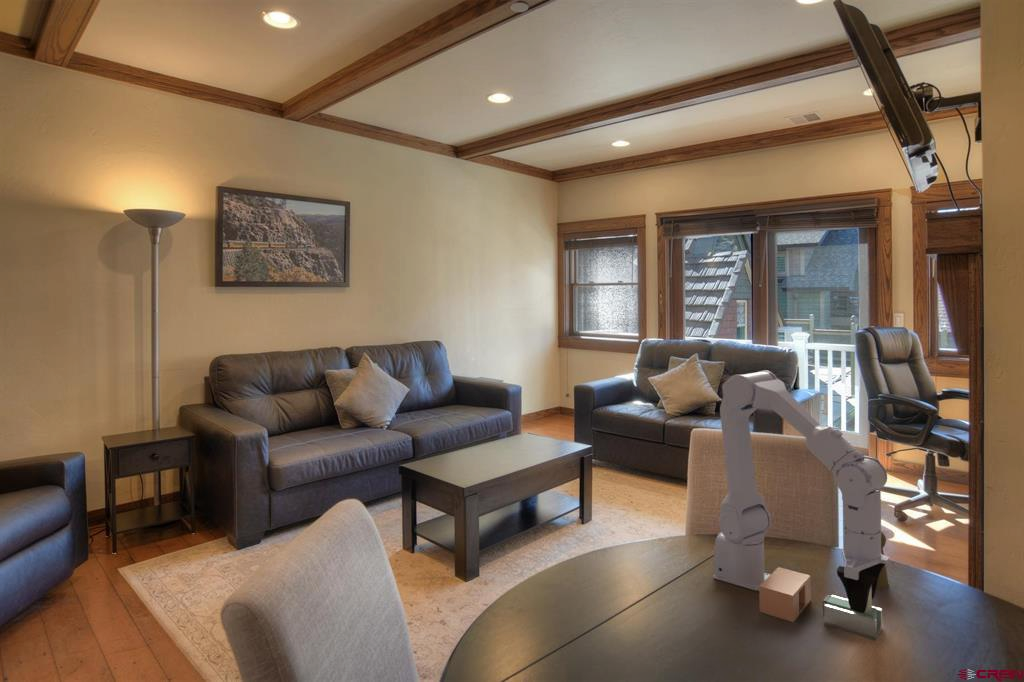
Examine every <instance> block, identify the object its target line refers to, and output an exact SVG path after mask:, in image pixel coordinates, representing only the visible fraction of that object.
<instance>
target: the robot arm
mask: <svg viewBox="0 0 1024 682" xmlns="http://www.w3.org/2000/svg"><path fill="white" fill-rule="evenodd" d="M757 409H761V410H762V409H764V410H772V411H774V412H775V413H776V414H777V415H779V416H780V417H781V419H783V420H784V421H785V422H787V423H788V424H789V425H790V426H791V427H793V428H794V429H795V430H796V431H797V432H798V433H799V434H801V436H803V437H804V438H805V439H806V448H807V449H808V450H809V452H811V453H812V454H813V455H814V456H815V457H816V458H817V460H819V461H820V462H821V463H822V464H823V465H824V466H825V467H826V468H827V469H828V471H830V472H831V473H832V474H833V475H834V482H835V483H836V486H837V488H838V489H839V490H840V492H841V500H842V550H841V556H842V558H843V562H844V565H843V566H841V565H839V566H838V567H837V569H836V575H837V577H838V578H839V580H840V581H841V584H842V585H843V587H844V590H845V594H846V597H847V598H846V599H848V602H849V605H850V608H851V610H854V611H857V612H861V613H864V612H865V610H866V607H867V602H868V596H869V591H870V588H871V585H872V600H874V598H875V596H876V591H877V589H876V588H877V583H878V579H879V575H880V573H881V570H882V568H883V566H884V565H887V564H889V563H890V556H887V555H885V554H884V555H882V553H881V532H882V501H881V500H882V499H881V497H882V495H881V493H882V491H881V489H882V488H884V486H885V485H886V483H887V482H888V474H887V470H886V469H885V467H884V466H883V464H882V463H881V462H880V460H879V459H878V458H875V457H873V456H869V455H868V456H867V455H864V453H863V452H862V451H861V450H857V449H856V448H855V447H854V446H853V445H852V444H851V443H850V442H848V440H846V439H845V438H844V437H843V435H844V434H843V432H842V431H840V429H838V428H836V429H834V428H833V427H832V426H824V425H821V424H819V422H818V421H817V420H816V419H815V418H814V417H813V416H812V415H811V414H810V413H809V412H808V411H807V410H806V408H804V407H803V406H802V405H801V403H800V402H799V401H798V400H797V399H796V398H794V396H793V395H792V394H791V393H790V392H789V391H788V390H787V387H786V385H785V382H784V381H782V380H781V379H779V378H778V377H777V376H776V375H775V373H773V372H772V371H770V370H766V369H765V370H760V371H756V372H750V373H743V374H733V375H731V376H730V377H729V378H728V379H727V380H726V381H725V382H724V383H723V384H722V400H721V403H720V406H719V416H720V424H721V433H722V434H721V435H722V442H723V443H722V444H723V451H724V452H723V453H724V463H725V469H726V470H725V471H726V480H727V491H728V492H727V494H726V496H725V497H724V499H723V500H722V501H721V503H720V515H719V518H718V525H719V530H720V531H721V532H719V533H718V534H717V536H716V538H715V540H714V550H713V551H714V552H713V553H714V558H713V559H714V574H713V578H714V579H715V580H718V581H722V582H726V583H729V584H732V585H734V586H738V587H742V588H746V589H747V590H748V589H749V590H752V591H755V592H759V586H760V585H761V584H762V583H763V582H764V581H765V580H766V579H767V578H768V577H769V576H770V575H771V573H766V572H765V540H764V539H765V537H766V531H768V530H769V529H770V527H771V524H772V519H771V514H770V512H769V509H768V508H767V505H766V499H765V497H764V496H763V495H761V494H760V493H759V492H758V491H757V485H756V482H757V481H756V475H755V467H754V466H755V465H754V457H753V449H752V448H753V447H752V437H751V428H750V420H749V419H750V416H751V415H752V414H753V413H755V411H756V410H757Z"/></svg>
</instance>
